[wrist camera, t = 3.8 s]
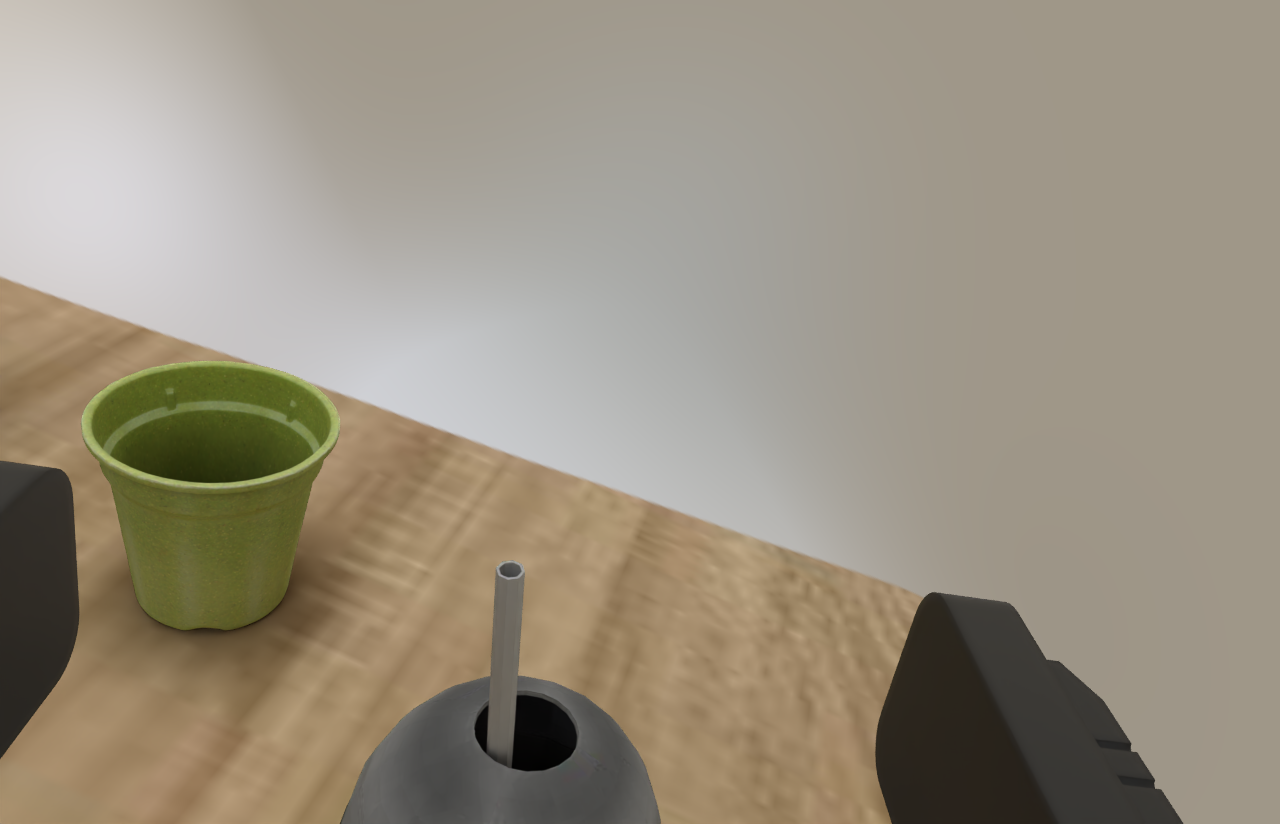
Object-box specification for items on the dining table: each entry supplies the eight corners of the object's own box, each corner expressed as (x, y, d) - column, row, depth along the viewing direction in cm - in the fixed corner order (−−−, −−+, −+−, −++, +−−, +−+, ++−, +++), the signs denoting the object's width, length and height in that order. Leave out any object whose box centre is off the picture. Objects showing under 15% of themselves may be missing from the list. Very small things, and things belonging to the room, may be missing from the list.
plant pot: (372, 583, 47) (388, 421, 43) (205, 701, 39) (205, 516, 35) (223, 499, 50) (224, 340, 46) (40, 593, 42) (23, 411, 38)
